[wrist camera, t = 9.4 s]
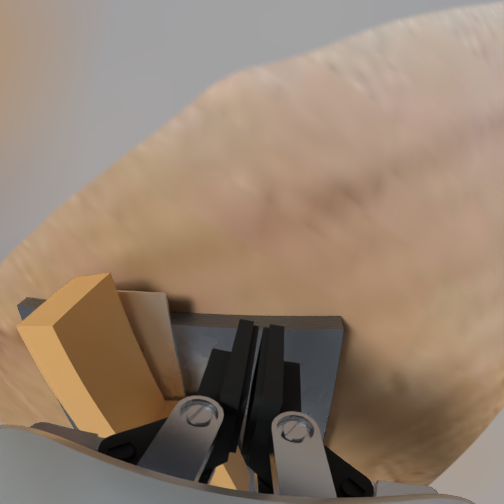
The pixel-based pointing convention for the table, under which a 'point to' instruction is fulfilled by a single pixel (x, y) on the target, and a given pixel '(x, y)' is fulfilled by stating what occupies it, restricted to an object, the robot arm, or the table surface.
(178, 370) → the base plate
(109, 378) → the tan wooden bracket
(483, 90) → the table surface
